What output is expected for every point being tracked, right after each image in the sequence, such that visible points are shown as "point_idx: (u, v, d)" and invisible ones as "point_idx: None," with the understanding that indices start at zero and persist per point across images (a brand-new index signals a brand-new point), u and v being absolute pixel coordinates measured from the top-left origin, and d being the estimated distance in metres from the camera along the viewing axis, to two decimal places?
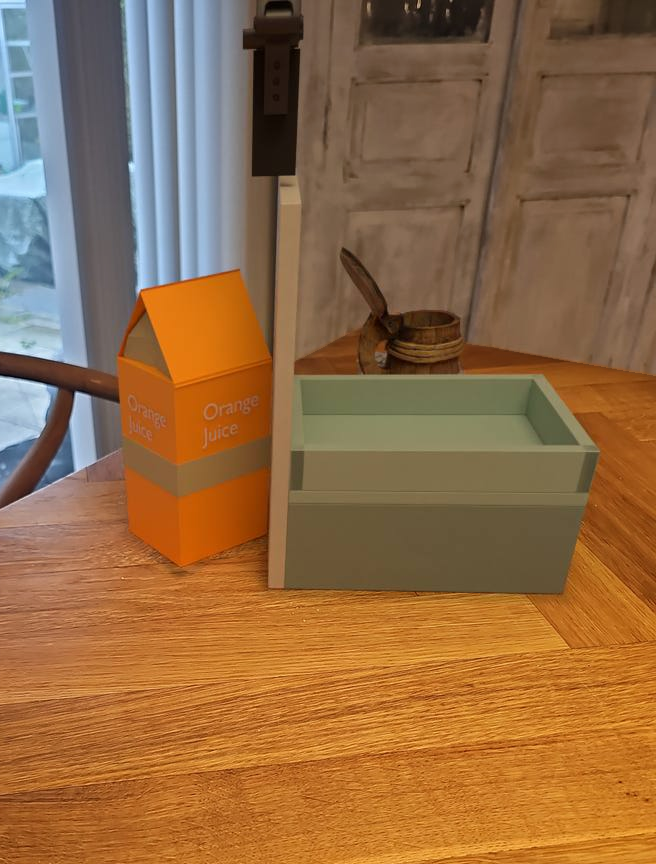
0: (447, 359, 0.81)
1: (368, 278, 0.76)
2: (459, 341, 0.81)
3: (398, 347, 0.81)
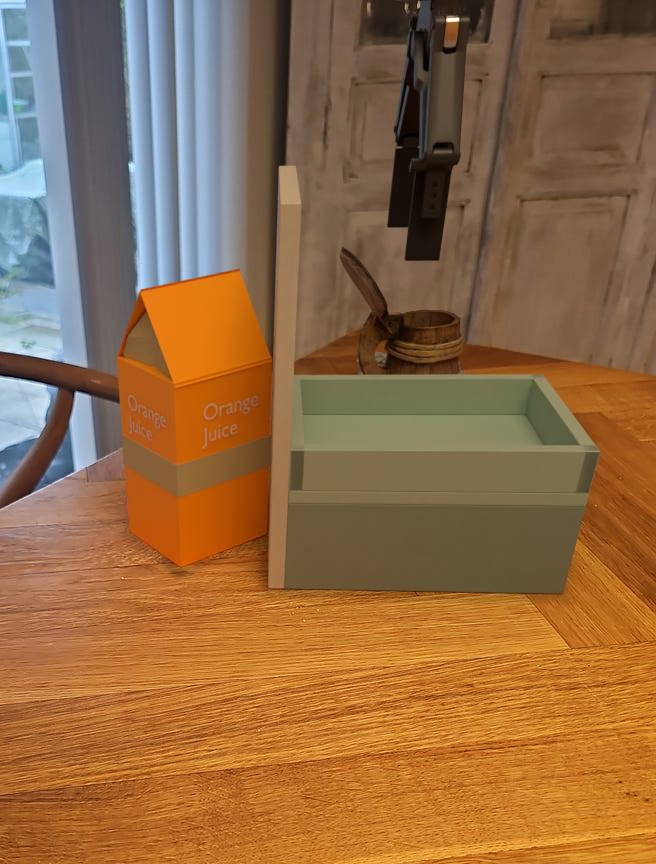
0: (447, 359, 0.81)
1: (368, 278, 0.76)
2: (459, 341, 0.81)
3: (398, 347, 0.81)
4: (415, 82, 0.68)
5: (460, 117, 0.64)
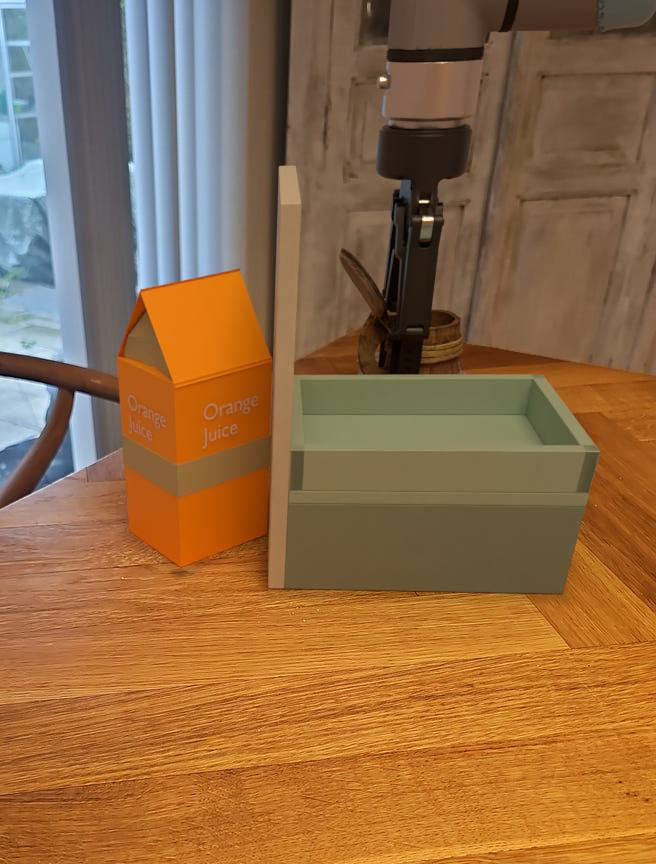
0: (447, 359, 0.81)
1: (368, 279, 0.76)
2: (459, 341, 0.81)
3: None
4: (395, 253, 0.76)
5: (430, 303, 0.74)
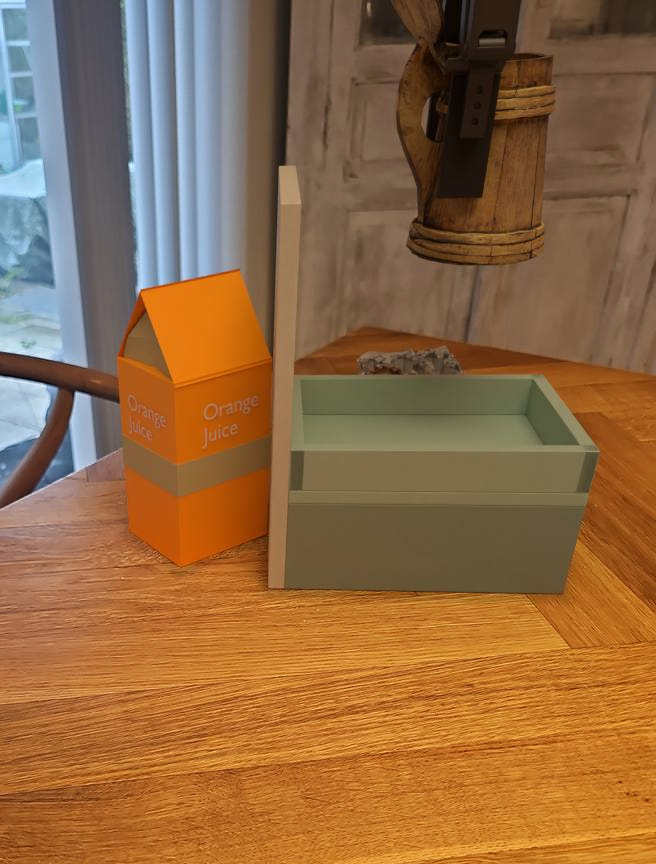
0: (534, 116, 0.53)
1: None
2: (552, 89, 0.53)
3: None
4: None
5: None
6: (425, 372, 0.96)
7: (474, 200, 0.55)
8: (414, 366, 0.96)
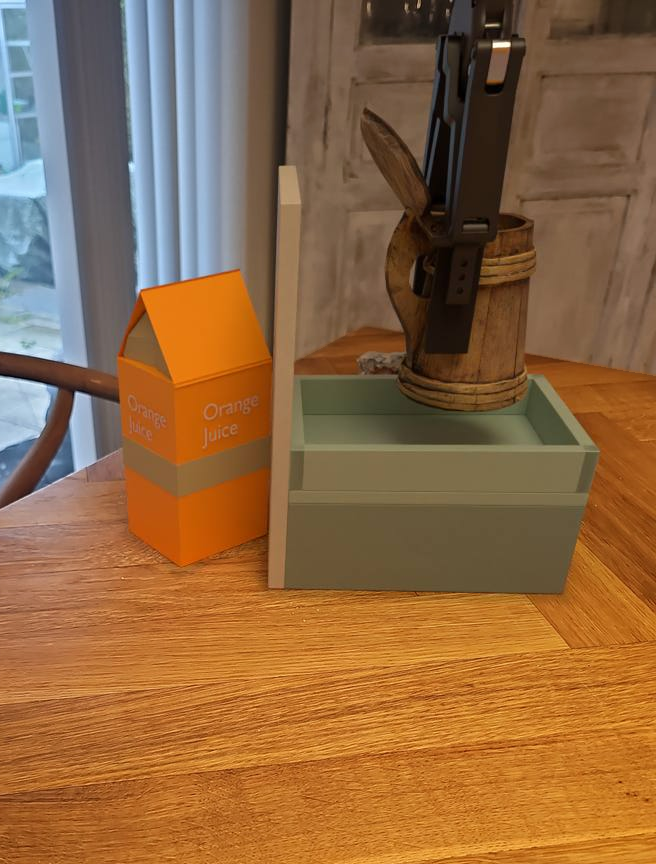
0: (515, 280, 0.56)
1: (404, 152, 0.51)
2: (533, 254, 0.56)
3: None
4: (445, 115, 0.51)
5: (501, 184, 0.49)
6: None
7: (460, 354, 0.58)
8: None
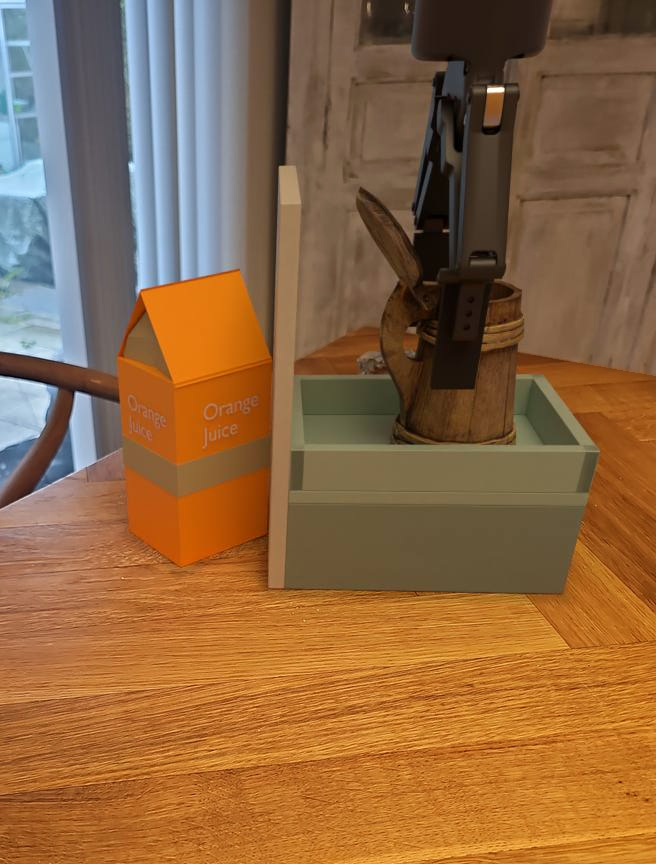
0: (504, 347, 0.58)
1: (397, 230, 0.53)
2: (521, 322, 0.58)
3: (435, 330, 0.59)
4: (443, 166, 0.52)
5: (506, 218, 0.48)
6: None
7: (451, 415, 0.60)
8: None
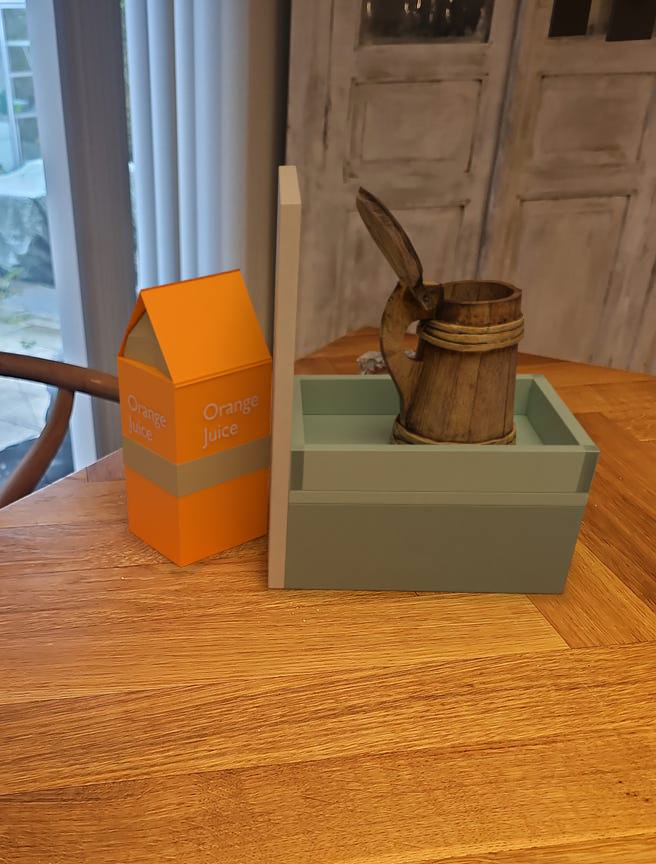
0: (504, 347, 0.58)
1: (397, 230, 0.53)
2: (521, 322, 0.58)
3: (435, 330, 0.59)
4: None
5: None
6: None
7: (451, 415, 0.60)
8: None
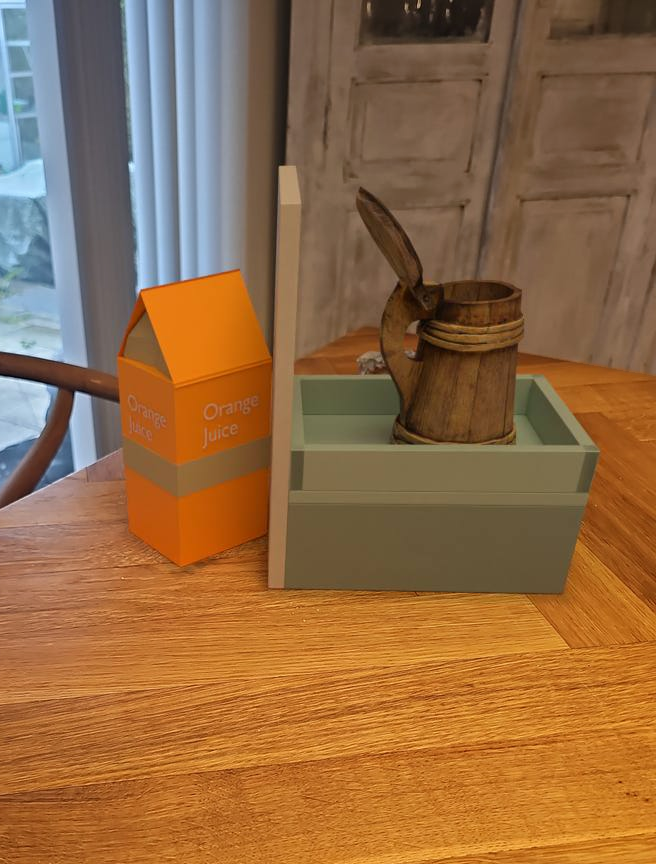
0: (504, 347, 0.58)
1: (397, 230, 0.53)
2: (521, 322, 0.58)
3: (435, 330, 0.59)
4: None
5: None
6: None
7: (451, 415, 0.60)
8: None
